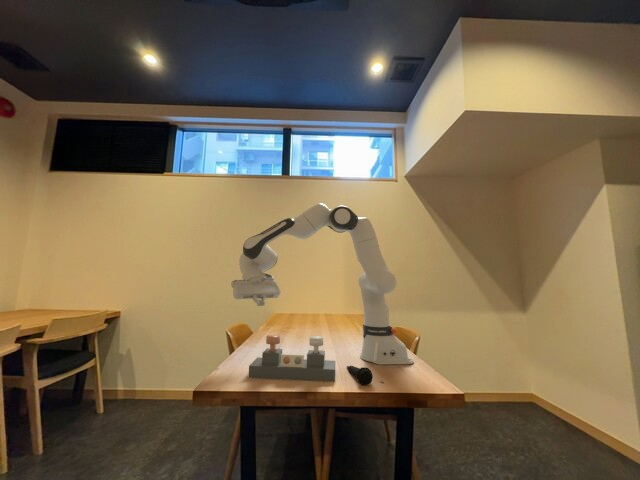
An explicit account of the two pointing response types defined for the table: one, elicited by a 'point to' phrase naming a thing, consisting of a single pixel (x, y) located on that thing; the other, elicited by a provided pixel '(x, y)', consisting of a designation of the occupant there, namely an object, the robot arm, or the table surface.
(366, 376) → the microphone
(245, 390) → the table surface
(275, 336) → the terracotta button
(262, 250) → the robot arm
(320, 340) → the grey button
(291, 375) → the button console
